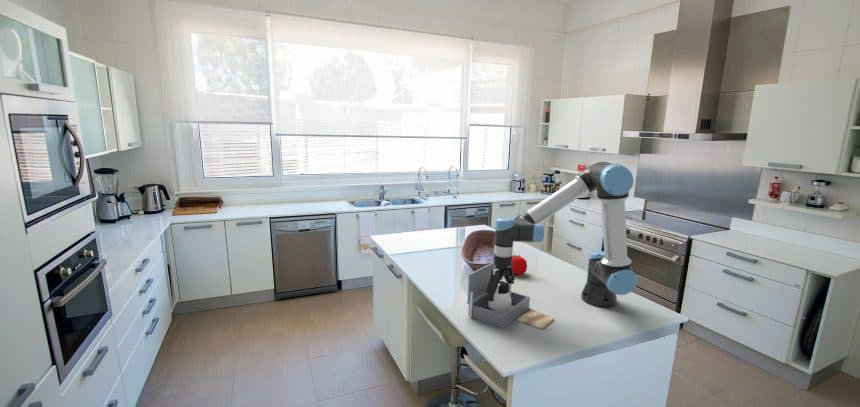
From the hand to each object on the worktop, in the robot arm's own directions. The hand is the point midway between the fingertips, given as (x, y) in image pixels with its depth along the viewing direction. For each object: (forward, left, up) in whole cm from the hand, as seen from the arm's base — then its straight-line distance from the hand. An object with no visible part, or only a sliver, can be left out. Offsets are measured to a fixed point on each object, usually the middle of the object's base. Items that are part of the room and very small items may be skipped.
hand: (499, 302), depth 166 cm
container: (0, 0, -4) cm, 4 cm away
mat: (-15, -3, -4) cm, 16 cm away
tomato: (+16, -46, -4) cm, 49 cm away
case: (0, 0, -4) cm, 4 cm away
